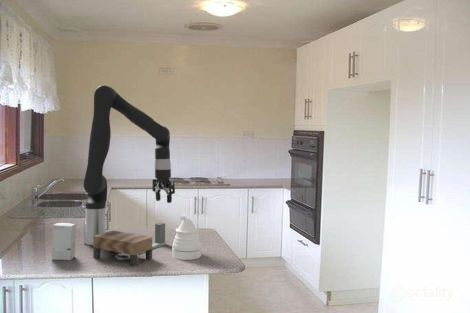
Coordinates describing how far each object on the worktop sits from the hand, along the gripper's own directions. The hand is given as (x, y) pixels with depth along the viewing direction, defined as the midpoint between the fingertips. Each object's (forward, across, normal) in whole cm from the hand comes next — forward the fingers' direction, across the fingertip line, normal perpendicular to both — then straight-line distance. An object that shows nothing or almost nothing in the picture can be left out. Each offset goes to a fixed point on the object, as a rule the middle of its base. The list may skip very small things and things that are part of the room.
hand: (163, 201), depth 223 cm
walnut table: (+20, +6, -28) cm, 35 cm away
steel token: (+20, +6, -28) cm, 35 cm away
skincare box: (+19, -10, -46) cm, 51 cm away
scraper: (+21, +1, -10) cm, 23 cm away
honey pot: (+22, +21, -4) cm, 31 cm away
